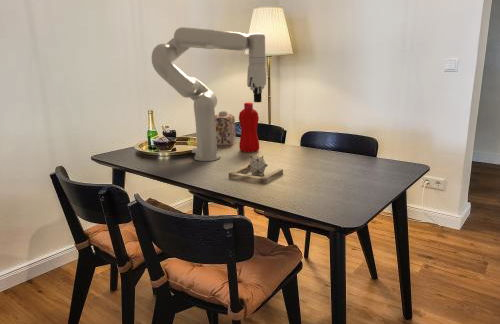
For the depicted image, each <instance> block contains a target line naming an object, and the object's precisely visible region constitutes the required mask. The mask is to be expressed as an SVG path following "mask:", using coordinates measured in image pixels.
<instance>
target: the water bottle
mask: <svg viewBox="0 0 500 324" xmlns="http://www.w3.org/2000/svg"><path fill="white" fill-rule="evenodd" d="M243 107H244V108H242V110H241V111H240V112H239V113H238V114H239V115H238V121H239V125H240V129H241V132H240V137H239V144H238V145H239V148H238V149H239V150H240V151H241V152H244V153H249V154H250V153H255V152H258V151H259V150H260V141H259V140H260V139H259V137H258V133H257V132H258V125H259V119H260V117H259V113H258V111H257V110H256V109H254V108H253V107H254V103H252V102H244V103H243Z"/></svg>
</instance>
